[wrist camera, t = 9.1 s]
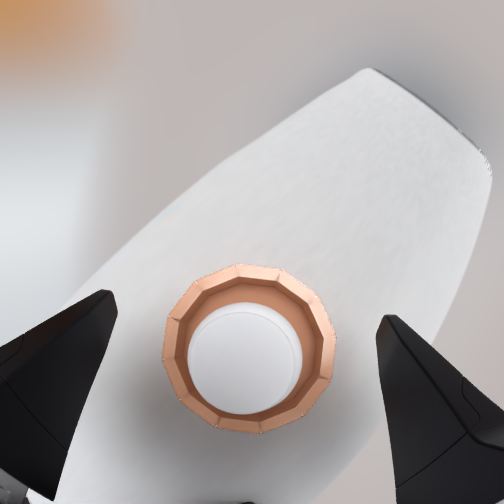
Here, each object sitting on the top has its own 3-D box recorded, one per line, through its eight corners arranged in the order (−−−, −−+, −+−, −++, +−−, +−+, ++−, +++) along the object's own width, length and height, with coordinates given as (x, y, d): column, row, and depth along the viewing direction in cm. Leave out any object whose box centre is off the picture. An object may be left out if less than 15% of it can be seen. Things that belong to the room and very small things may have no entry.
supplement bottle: (213, 309, 21) (176, 286, 11) (291, 315, 20) (318, 296, 11) (207, 385, 19) (166, 422, 10) (285, 391, 19) (307, 434, 10)
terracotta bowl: (345, 382, 20) (359, 389, 17) (211, 437, 19) (204, 452, 16) (287, 254, 23) (292, 240, 19) (156, 308, 22) (141, 302, 18)
